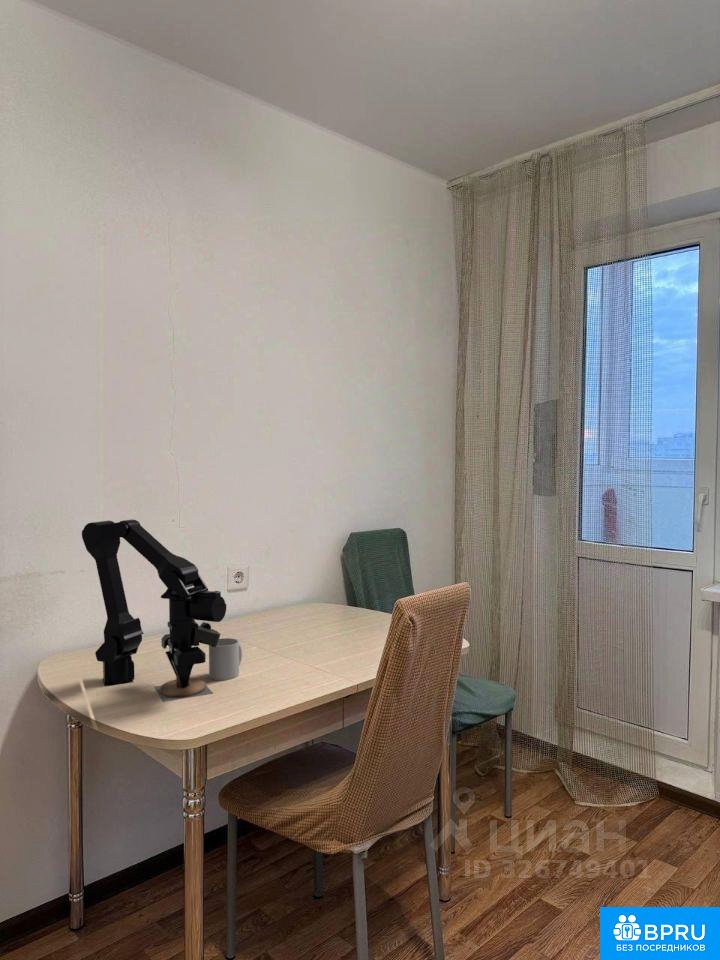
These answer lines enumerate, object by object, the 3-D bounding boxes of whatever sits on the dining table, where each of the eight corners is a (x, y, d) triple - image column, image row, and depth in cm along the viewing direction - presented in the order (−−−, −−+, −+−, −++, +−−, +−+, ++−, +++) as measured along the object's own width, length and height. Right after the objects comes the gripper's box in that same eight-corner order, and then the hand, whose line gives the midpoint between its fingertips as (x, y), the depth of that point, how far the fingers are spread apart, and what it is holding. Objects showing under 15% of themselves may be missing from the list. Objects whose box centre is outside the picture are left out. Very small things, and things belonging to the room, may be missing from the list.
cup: (203, 679, 164) (202, 643, 164) (230, 668, 173) (229, 634, 173) (225, 684, 161) (225, 647, 161) (252, 672, 170) (251, 637, 169)
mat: (163, 704, 148) (163, 701, 148) (154, 689, 158) (154, 686, 158) (213, 695, 153) (212, 693, 153) (201, 681, 163) (200, 679, 163)
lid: (165, 700, 149) (165, 684, 149) (156, 686, 158) (156, 672, 157) (210, 692, 153) (210, 677, 153) (199, 680, 162) (199, 665, 162)
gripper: (227, 622, 150) (228, 691, 151) (206, 606, 167) (207, 668, 167) (177, 628, 145) (178, 700, 146) (160, 611, 162) (161, 675, 162)
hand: (183, 685), depth 155 cm, fingers closed on lid, 3 cm apart
